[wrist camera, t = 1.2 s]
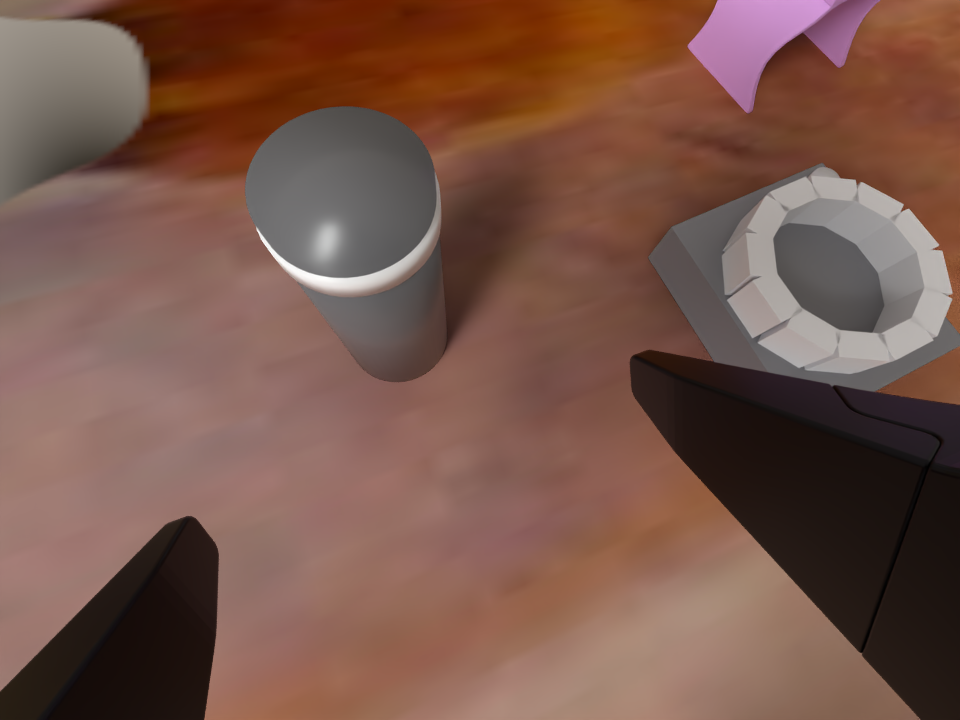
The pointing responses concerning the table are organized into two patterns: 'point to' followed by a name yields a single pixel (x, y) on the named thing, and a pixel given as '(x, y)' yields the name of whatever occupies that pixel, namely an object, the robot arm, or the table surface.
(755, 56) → the toy chair
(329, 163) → the grey domed cylinder
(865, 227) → the ringed square flange
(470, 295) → the table surface
